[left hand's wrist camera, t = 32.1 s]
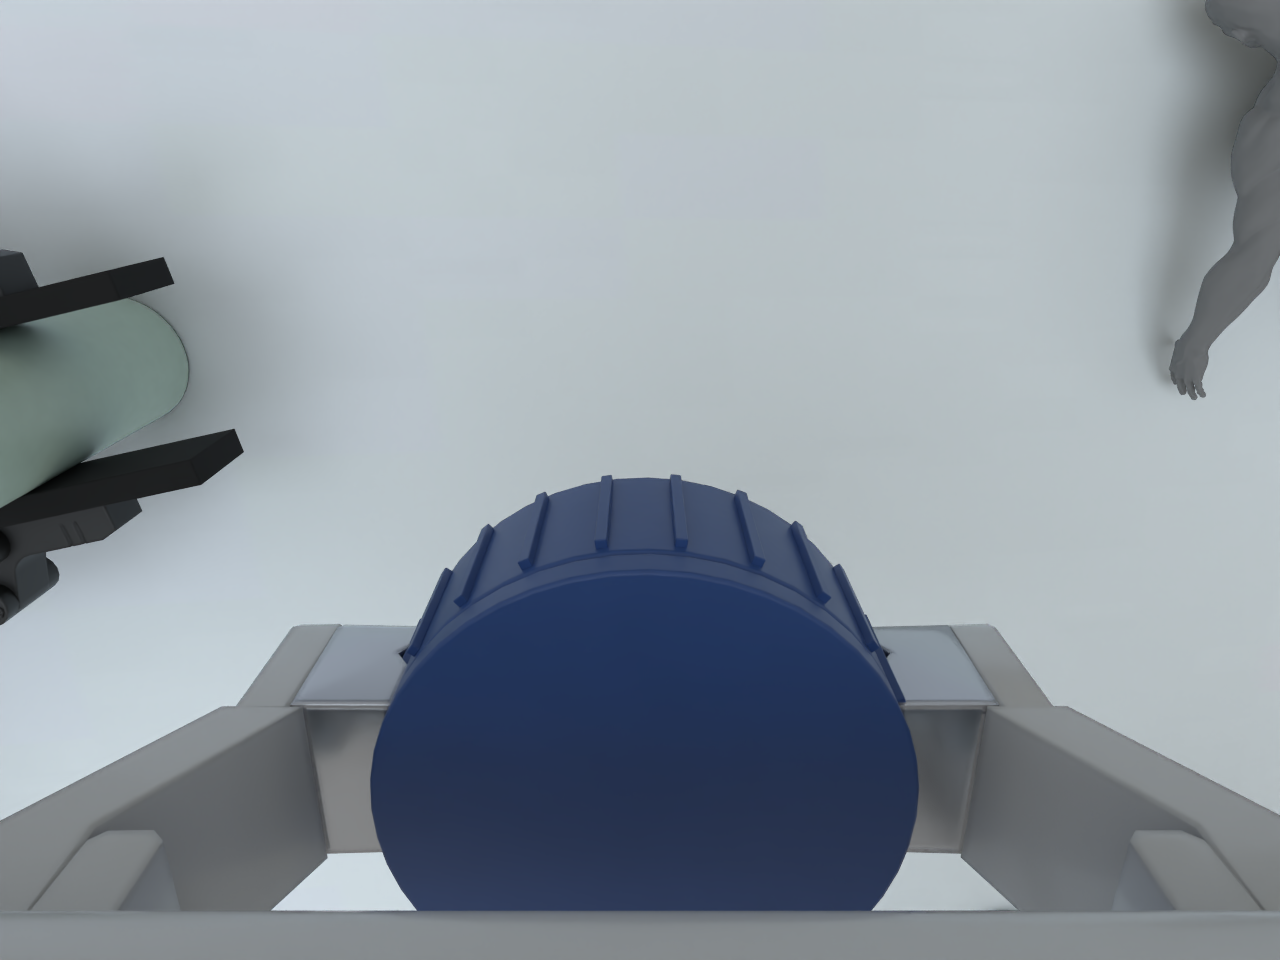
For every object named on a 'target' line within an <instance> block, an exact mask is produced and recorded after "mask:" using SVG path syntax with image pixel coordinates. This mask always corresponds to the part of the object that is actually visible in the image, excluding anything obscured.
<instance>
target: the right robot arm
mask: <svg viewBox="0 0 1280 960" xmlns="http://www.w3.org/2000/svg"><path fill="white" fill-rule="evenodd" d="M172 284H174V281H173V279H172V276H171V274H170V272H169V269H168V267H167V264H166V262H165V259H164V257H162V258H158V259H153V260H149V261H145V262H141V263H137V264H133V265H129V266H125V267H121V268H117V269H112V270H108V271H104V272H100V273H96V274H92V275H88V276H84V277H80V278H75V279H71V280H67V281H63V282H59V283H55V284H51V285H47V286H43V287H38V285H37V283H36V281H35V279H34V276H33V274H32V272H31V270H30V268H29V266H28V264H27V261H26V259H25V257H24V255H23V253H21V252H14V251H8V250H0V329H2V328H6V327H10V326H14V325H19V324H23V323H27V322H31V321H35V320H39V319H44V318H48V317H52V316H56V315H60V314H64V313H69V312H73V311H77V310H81V309H85V308H89V307H94V306H98V305H102V304H106V303H110V302H115V301H119V300H122V299H126V298H129V297H132V296H135V295H139V294H142V293H145V292H149V291H152V290H155V289H158V288H162V287H165V286H168V285H172ZM243 452H244V451H243V449H242V446H241V444H240V441H239V439H238V437H237V434H236V432H235V429H232V430H227V431H223V432H218V433H214V434H209V435H204V436H200V437H195V438H191V439H186V440H182V441H177V442H173V443H168V444H164V445H159V446H155V447H150V448H146V449H141V450H137V451H132V452H128V453H123V454H119V455H114V456H110V457H105V458H100V459H96V460H91V461H87V462H82V463H79V464H77V465H75V466H74V467H72V468H70V469H68V470H67V471H65V472H63V473H61V474H60V475H58V476H56V477H54V478H52V479H51V480H49V481H47V482H45V483H44V484H42V485H40V486H38V487H37V488H35V489H33V490H31V491H29V492H28V493H26V494H24V495H22V496H21V497H19V498H17V499H15V500H14V501H12V502H10V503H8V504H6V505H5V506H3V507H1V508H0V625H2V624H4V623H5V622H6V621H8V620H9V619H10V618H12V617H13V616H14V615H16V614H17V613H18V612H20V611H21V610H22V609H24V608H25V607H26V606H28V605H29V604H30V603H32V602H33V601H34V600H36V599H37V598H38V597H40V596H41V595H42V594H44V593H45V592H46V591H48V590H49V589H50V588H52V587H53V586H54V585H55V584H56V583H57V582H58V580H59V572H58V568H57V567H56V565H55V564H54V563H53V562H52V561H51V560H49V559H48V558H46V552H48V551H53V550H57V549H62V548H67V547H71V546H76V545H81V544H84V543H90V542H95V541H100V540H104V539H105V538H106V537H108V536H109V535H110V534H112V533H113V532H114V531H116V530H117V529H119V528H120V527H121V526H123V525H124V524H125V523H127V522H128V521H129V520H131V519H132V518H134V517H135V516H136V515H138V514H139V513H140V512H142V509H141V507H140V505H139V503H138V501H137V498H142V497H147V496H151V495H156V494H161V493H165V492H170V491H174V490H179V489H184V488H188V487H193V486H198V485H201V484H203V483H204V482H205V481H207V480H208V479H209V478H211V477H212V476H213V475H214V474H216V473H217V472H218V471H220V470H221V469H222V468H224V467H225V466H226V465H227V464H229V463H230V462H231V461H233V460H234V459H235V458H237V457H238V456H239V455H240V454H242V453H243Z"/></svg>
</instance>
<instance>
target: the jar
mask: <svg viewBox="0 0 1280 960" xmlns="http://www.w3.org/2000/svg"><path fill="white" fill-rule="evenodd" d="M188 374H189V370H188V361H187V356H186V353H185V350H184V347H183V345H182V343H181V341H180V339H179V337H178V336H177V334H176V333H175V331H174V330H173V329H172V327H171V326H170V325H169V324H168V323H167V322H166V321H165V320H164V319H163V318H162V317H161V316H160V315H159V314H157V313H156V312H155V311H153V310H152V309H150V308H149V307H147V306H145V305H143V304H141V303H139V302H136V301H134V300H131V299H127V298H126V299H122V300H119V301H115V302H110V303H106V304H102V305H98V306H94V307H89V308H85V309H81V310H77V311H73V312H69V313H64V314H60V315H56V316H52V317H48V318H44V319H39V320H35V321H31V322H27V323H23V324H19V325H14V326H10V327H6V328H2V329H0V508H1V507H3V506H5V505H6V504H8V503H10V502H12V501H14V500H15V499H17V498H19V497H21V496H22V495H24V494H26V493H28V492H29V491H31V490H33V489H35V488H37V487H38V486H40V485H42V484H44V483H45V482H47V481H49V480H51V479H52V478H54V477H56V476H58V475H60V474H61V473H63V472H65V471H67V470H68V469H70V468H72V467H74V466H75V465H77V464H79V463H81V462H82V461H84V460H86V459H88V458H90V457H91V456H93V455H95V454H97V453H98V452H100V451H102V450H104V449H105V448H107V447H109V446H111V445H113V444H114V443H116V442H118V441H120V440H121V439H123V438H125V437H127V436H128V435H130V434H132V433H134V432H136V431H137V430H139V429H141V428H143V427H144V426H146V425H148V424H150V423H151V422H153V421H155V420H157V419H159V418H160V417H162V416H164V415H165V414H167V413H168V412H170V411H171V410H172V409H173V408H175V407H176V405H177V404H178V403H179V402H180V400H181V398H182V397H183V395H184V393H185V390H186V387H187V382H188Z"/></svg>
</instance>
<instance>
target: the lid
mask: <svg viewBox="0 0 1280 960" xmlns="http://www.w3.org/2000/svg"><path fill="white" fill-rule="evenodd" d="M402 659H403V660H404V661H405V663H406V664H407V666H406V669H405V671H404V673H403V676H402V678H401V680H400V682H399V685H398V687H397V689H396V692H395V694H394V696H393V699H392V701H391V703H390V705H389V708H388V710H387V712H386V715H385V717H384V719H383V721H382V725H381V728H380V731H379V734H378V738H377V741H376V744H375V748H374V752H373V760H372V767H371V775H370V793H371V810H372V815H373V820H374V825H375V830H376V834H377V839H378V841H379V844H380V847H381V849H382V852H383V855H384V857H385V860H386V863H387V865H388V867H389V869H390V870H391V872H392V874H393V876H394V878H395V879H396V881H397V883H398V885H399V887H400V888H401V890H402V891H403V893H404V894H405V895H406V897H407V898H408V899H409V901H410V902H411V903H412V904H413V906H414V907H415V908H416V910H417V911H871V910H872V909H873V908H874V907H875V905H876V904H877V903H878V902H879V901H880V899H881V898H882V897H883V896H884V894H885V892H886V891H887V889H888V887H889V886H890V884H891V883H892V881H893V879H894V878H895V876H896V874H897V873H898V871H899V869H900V866H901V864H902V862H903V859H904V857H905V855H906V852H907V850H908V848H909V845H910V841H911V837H912V833H913V829H914V825H915V821H916V817H917V807H918V796H919V778H918V765H917V757H916V753H915V749H914V745H913V741H912V737H911V733H910V729H909V727H908V724H907V722H906V720H905V718H904V715H903V713H902V711H901V708H900V706H899V704H898V703H900V702H906V700H905V697H904V695H903V693H902V691H901V688H900V686H899V684H898V682H897V680H896V678H895V675H894V673H893V671H892V669H891V667H890V665H889V662H888V660H887V658H886V656H885V654H884V652H883V650H882V647H881V645H880V643H879V641H878V639H877V637H876V634H875V632H874V630H873V628H872V626H871V624H870V621H869V619H868V617H867V615H864V612H863V610H862V608H861V606H860V604H859V602H858V599H857V597H856V595H855V593H854V591H853V589H852V586H851V584H850V582H849V580H848V578H847V575H846V573H845V571H844V569H843V568H842V567H841V565H840V564H838V565H836V566H835V567H833V566H832V565H831V563H830V562H829V561H828V560H827V559H826V558H825V556H824V555H823V554H822V553H821V552H820V551H819V550H818V548H817V547H816V546H815V545H814V544H813V543H812V542H811V541H810V540H808V539H807V536H806V534H805V531H804V529H803V526H802V525H801V524H799V523H798V522H797V521H795V522H794V523H793V524H792V525H791V524H789V523H788V522H786V521H785V520H783V519H782V518H780V517H779V516H777V515H776V514H774V513H773V512H771V511H769V510H768V509H766V508H764V507H762V506H760V505H758V504H756V503H753V502H751V501H749V500H748V497H747V493H745V492H742V491H740V490H737V492H736V494H732V493H729V492H726V491H723V490H720V489H717V488H714V487H711V486H707V485H702V484H697V483H692V482H687V481H682V480H681V476H680V475H672V474H671V476H670V479H659V478H630V479H614V480H613V479H612V475H608V476H602V478H601V482H596V483H590V484H585V485H581V486H578V487H575V488H571V489H568V490H565V491H561V492H558V493H555V494H552V495H550V496H548V495H547V494H546V492H543V493H541V494H539V495H537V496H536V499H535V502H534V503H532V504H530V505H528V506H526V507H524V508H522V509H521V510H519V511H518V512H516V513H514V514H513V515H511V516H509V517H508V518H506V519H504V520H503V521H501V522H500V523H499V524H497V525H496V526H495V527H494V528H492V527H491V526H490V525H489V524H488V525H486V526H485V527H484V528H483V529H482V530H481V532H480V535H479V537H478V540H477V542H476V543H475V544H474V545H473V546H472V548H471V549H470V550H469V551H468V552H467V553H466V554H465V555H464V556H463V557H462V558H461V559H460V560H459V562H458V563H457V565H456V566H455V568H454V569H453V571H451V570H449V569H448V568H445V569H444V571H443V572H442V574H441V576H440V578H439V580H438V583H437V585H436V587H435V589H434V591H433V594H432V596H431V598H430V600H429V603H428V605H427V607H426V609H425V612H424V614H423V616H422V618H421V619H420V620H419V622H418V625H417V627H416V629H415V632H414V634H413V636H412V638H411V641H410V645H409V647H408V648H407V649H406V651H405V654H404V656H403V658H402Z"/></svg>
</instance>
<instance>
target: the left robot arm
mask: <svg viewBox="0 0 1280 960" xmlns="http://www.w3.org/2000/svg"><path fill="white" fill-rule="evenodd" d="M416 627H417V626H381V625H343V626H342V625H340V624H317V625H299V626H295V627H293V628H292V629H291V630H290V631H289V632H288V634H287V635H286V637H285V638H284V639H283V641H282V642H281V644H280V645H279V646H278V648H277V649H276V651H275V652H274V654H273V655H272V656H271V658H270V659H269V661H268V662H267V663H266V665H265V666H264V668H263V669H262V670H261V672H260V673H259V675H258V676H257V677H256V679H255V680H254V682H253V683H252V684H251V686H250V687H249V689H248V690H247V691H246V693H245V694H244V696H243V697H242V698H241V700H240V701H239V703H238V704H237V705H236V706H224V707H220V708H218V709H216V710H214V711H212V712H210V713H208V714H206V715H204V716H202V717H201V718H199V719H197V720H195V721H193V722H191V723H189V724H187V725H185V726H183V727H181V728H179V729H177V730H175V731H173V732H171V733H170V734H168V735H166V736H164V737H162V738H160V739H158V740H156V741H154V742H152V743H150V744H148V745H146V746H144V747H142V748H140V749H138V750H137V751H135V752H133V753H131V754H129V755H127V756H125V757H123V758H121V759H119V760H117V761H115V762H113V763H111V764H109V765H107V766H106V767H104V768H102V769H100V770H98V771H96V772H94V773H92V774H90V775H88V776H86V777H84V778H82V779H80V780H78V781H76V782H75V783H73V784H71V785H69V786H67V787H65V788H63V789H61V790H59V791H57V792H55V793H53V794H51V795H49V796H47V797H45V798H44V799H42V800H40V801H38V802H36V803H34V804H32V805H30V806H28V807H26V808H24V809H22V810H20V811H18V812H16V813H14V814H13V815H11V816H9V817H7V818H5V819H3V820H1V821H0V960H1280V815H1278V814H1276V813H1274V812H1272V811H1270V810H1268V809H1266V808H1264V807H1262V806H1261V805H1259V804H1257V803H1255V802H1253V801H1251V800H1249V799H1247V798H1245V797H1243V796H1241V795H1239V794H1237V793H1235V792H1233V791H1231V790H1229V789H1227V788H1225V787H1223V786H1222V785H1220V784H1218V783H1216V782H1214V781H1212V780H1210V779H1208V778H1206V777H1204V776H1202V775H1200V774H1198V773H1196V772H1194V771H1192V770H1190V769H1188V768H1186V767H1184V766H1183V765H1181V764H1179V763H1177V762H1175V761H1173V760H1171V759H1169V758H1167V757H1165V756H1163V755H1161V754H1159V753H1157V752H1155V751H1153V750H1151V749H1149V748H1147V747H1145V746H1144V745H1142V744H1140V743H1138V742H1136V741H1134V740H1132V739H1130V738H1128V737H1126V736H1124V735H1122V734H1120V733H1118V732H1116V731H1114V730H1112V729H1110V728H1108V727H1106V726H1105V725H1103V724H1101V723H1099V722H1097V721H1095V720H1093V719H1091V718H1089V717H1087V716H1085V715H1083V714H1081V713H1079V712H1077V711H1075V710H1073V709H1071V708H1069V707H1066V706H1053V705H1052V704H1051V703H1050V701H1049V700H1048V698H1047V697H1046V696H1045V694H1044V693H1043V692H1042V690H1041V689H1040V688H1039V686H1038V685H1037V683H1036V682H1035V681H1034V679H1033V678H1032V677H1031V675H1030V674H1029V673H1028V671H1027V670H1026V668H1025V667H1024V666H1023V664H1022V663H1021V662H1020V660H1019V659H1018V658H1017V656H1016V655H1015V654H1014V652H1013V651H1012V649H1011V648H1010V647H1009V645H1008V644H1007V643H1006V641H1005V640H1004V639H1003V637H1002V636H1001V634H1000V633H999V632H998V630H997V629H996V628H995V627H993V626H991V625H989V624H969V625H935V626H895V627H872V628H873V630H874V632H875V634H876V637H877V639H878V641H879V643H880V645H881V647H882V650H883V652H884V654H885V656H886V658H887V660H888V662H889V665H890V667H891V669H892V671H893V673H894V675H895V678H896V680H897V682H898V684H899V686H900V688H901V691H902V693H903V695H904V697H905V700H906V702H900V703H898V704H899V706H900V708H901V711H902V713H903V715H904V718H905V720H906V722H907V724H908V727H909V729H910V733H911V737H912V741H913V745H914V749H915V753H916V757H917V765H918V778H919V796H918V807H917V817H916V821H915V825H914V829H913V833H912V837H911V841H910V845H909V848H908V850H907V852H923V853H959V854H961V858H962V859H963V860H964V861H965V862H967V863H968V864H969V865H970V866H971V867H972V868H973V869H974V870H975V871H976V872H977V873H979V874H980V875H981V876H982V877H983V878H984V879H985V880H986V881H987V882H988V883H989V884H991V885H992V886H993V887H994V888H995V889H996V890H997V891H998V892H999V893H1000V894H1002V895H1003V896H1004V897H1005V898H1006V899H1007V900H1008V901H1009V902H1010V903H1011V904H1012V905H1014V906H1015V907H1016V908H1017V909H1018V910H1019V911H271V910H272V909H273V908H274V907H275V906H276V905H277V904H278V903H279V902H280V901H281V900H282V899H284V898H285V897H286V896H287V895H288V894H289V893H290V892H291V891H292V890H293V889H294V888H295V887H297V886H298V885H299V884H300V883H301V882H302V881H303V880H304V879H305V878H306V877H307V876H308V875H310V874H311V873H312V872H313V871H314V870H315V869H316V868H317V867H318V866H319V865H320V864H321V863H323V862H324V861H325V860H326V859H327V854H329V853H364V852H382V849H381V847H380V844H379V841H378V839H377V834H376V830H375V825H374V820H373V815H372V810H371V793H370V775H371V767H372V760H373V752H374V748H375V744H376V741H377V738H378V734H379V731H380V728H381V725H382V721H383V719H384V717H385V715H386V712H387V710H388V708H389V705H390V703H391V701H392V699H393V696H394V694H395V692H396V689H397V687H398V685H399V682H400V680H401V678H402V676H403V673H404V671H405V669H406V666H407V664H406V663H405V661H404V660H403V659H402V658H403V656H404V654H405V651H406V649H407V648H408V647H409V645H410V641H411V638H412V636H413V634H414V632H415V629H416Z"/></svg>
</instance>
